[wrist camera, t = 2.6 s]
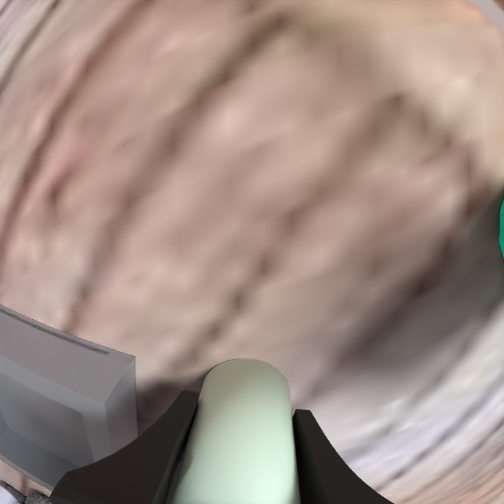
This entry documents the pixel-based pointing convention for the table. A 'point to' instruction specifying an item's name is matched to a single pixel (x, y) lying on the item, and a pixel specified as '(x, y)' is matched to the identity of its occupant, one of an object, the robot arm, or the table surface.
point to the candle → (502, 229)
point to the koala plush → (33, 501)
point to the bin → (61, 399)
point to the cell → (240, 439)
